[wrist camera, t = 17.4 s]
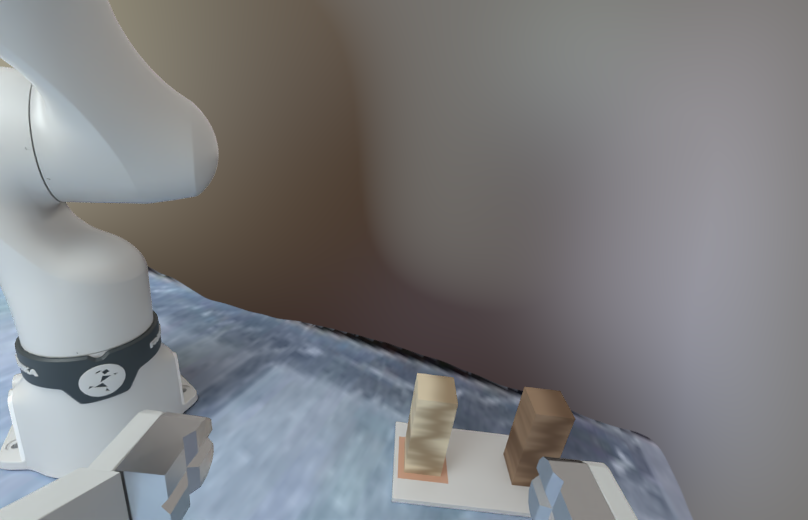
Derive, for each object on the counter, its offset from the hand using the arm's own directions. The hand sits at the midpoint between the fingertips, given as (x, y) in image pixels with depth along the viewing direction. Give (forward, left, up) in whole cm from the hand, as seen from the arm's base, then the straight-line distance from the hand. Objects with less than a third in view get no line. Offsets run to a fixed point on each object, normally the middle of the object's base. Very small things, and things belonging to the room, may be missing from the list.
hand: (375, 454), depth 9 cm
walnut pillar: (-7, +33, -31) cm, 46 cm away
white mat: (-11, +28, -32) cm, 44 cm away
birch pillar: (-16, +23, -31) cm, 42 cm away
